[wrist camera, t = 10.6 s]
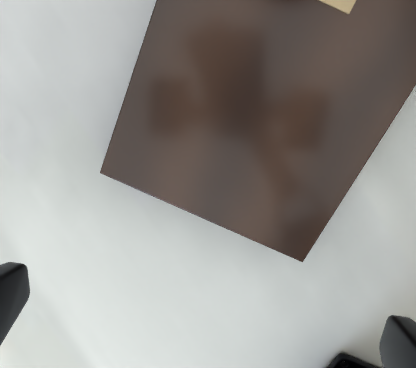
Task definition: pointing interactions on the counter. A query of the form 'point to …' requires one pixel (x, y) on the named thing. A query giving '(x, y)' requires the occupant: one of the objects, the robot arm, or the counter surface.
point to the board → (262, 109)
